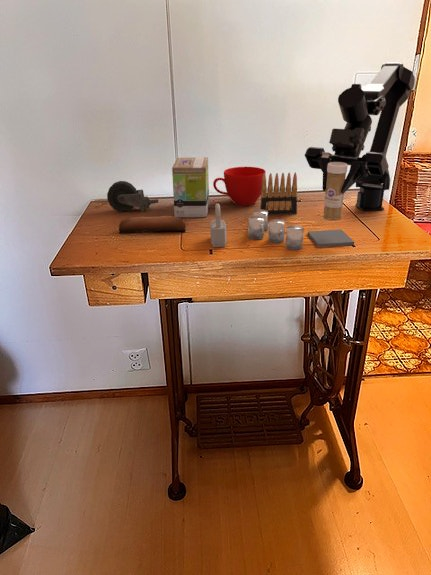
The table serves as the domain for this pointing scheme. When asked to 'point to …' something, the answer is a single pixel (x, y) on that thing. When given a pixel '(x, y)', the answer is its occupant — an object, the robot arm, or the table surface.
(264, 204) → the ammunition clip
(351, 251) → the table surface
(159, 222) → the sunglasses case
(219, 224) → the padlock
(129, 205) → the caster wheel
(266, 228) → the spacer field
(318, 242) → the mat
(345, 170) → the sprinkles bottle
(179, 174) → the tea box
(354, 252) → the table surface
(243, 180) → the ceramic cup
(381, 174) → the robot arm
